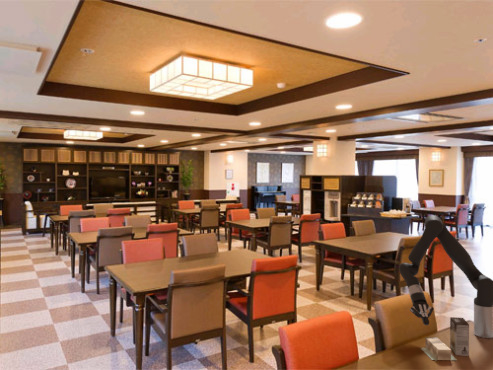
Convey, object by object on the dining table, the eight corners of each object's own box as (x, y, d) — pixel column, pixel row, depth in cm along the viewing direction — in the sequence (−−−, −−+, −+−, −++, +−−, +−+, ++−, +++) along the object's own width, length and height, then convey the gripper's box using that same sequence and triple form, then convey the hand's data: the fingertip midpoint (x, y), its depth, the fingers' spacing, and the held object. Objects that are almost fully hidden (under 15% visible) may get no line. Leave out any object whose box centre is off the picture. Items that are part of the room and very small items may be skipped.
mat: (420, 348, 196) (420, 347, 196) (444, 348, 195) (444, 347, 195) (432, 360, 183) (432, 359, 183) (457, 360, 182) (457, 359, 182)
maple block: (425, 337, 197) (438, 349, 183) (437, 337, 196) (451, 349, 182) (425, 346, 197) (438, 359, 183) (437, 346, 197) (451, 359, 183)
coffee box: (449, 347, 197) (449, 316, 196) (463, 348, 195) (463, 317, 195) (455, 355, 188) (455, 323, 187) (469, 356, 186) (469, 324, 186)
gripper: (407, 291, 211) (416, 321, 199) (430, 291, 211) (441, 321, 199) (403, 298, 216) (412, 327, 204) (426, 298, 216) (436, 327, 204)
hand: (427, 324), depth 202 cm, fingers closed
